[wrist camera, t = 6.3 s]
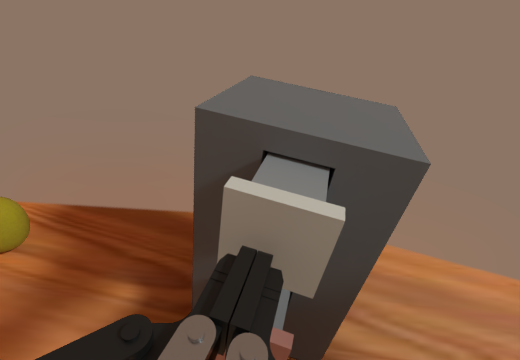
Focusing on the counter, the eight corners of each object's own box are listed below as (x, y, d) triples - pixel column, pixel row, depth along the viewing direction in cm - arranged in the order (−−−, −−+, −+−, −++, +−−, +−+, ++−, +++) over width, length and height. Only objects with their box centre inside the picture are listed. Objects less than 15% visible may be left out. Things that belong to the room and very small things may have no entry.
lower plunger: (276, 385, 20) (291, 349, 17) (208, 359, 21) (212, 320, 18) (295, 287, 28) (307, 250, 25) (244, 270, 28) (251, 233, 26)
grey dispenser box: (317, 366, 27) (431, 164, 15) (192, 319, 30) (195, 107, 17) (324, 274, 37) (396, 106, 25) (230, 244, 40) (251, 75, 27)
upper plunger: (312, 298, 14) (345, 221, 11) (216, 266, 15) (223, 186, 12) (324, 203, 22) (345, 142, 19) (259, 185, 23) (270, 124, 20)
